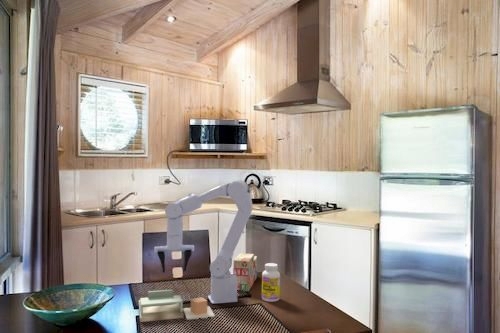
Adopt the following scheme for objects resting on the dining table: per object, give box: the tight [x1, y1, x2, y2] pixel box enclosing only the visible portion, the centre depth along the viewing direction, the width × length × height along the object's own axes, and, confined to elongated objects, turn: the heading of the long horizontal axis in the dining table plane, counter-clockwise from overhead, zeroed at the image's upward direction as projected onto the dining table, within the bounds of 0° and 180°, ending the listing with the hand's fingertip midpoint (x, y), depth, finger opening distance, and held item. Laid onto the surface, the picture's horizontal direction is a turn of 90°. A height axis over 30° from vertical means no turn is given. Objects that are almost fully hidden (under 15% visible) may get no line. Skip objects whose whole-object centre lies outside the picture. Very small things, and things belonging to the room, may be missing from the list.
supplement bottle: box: [261, 262, 281, 303], centre depth 145 cm, size 7×7×13 cm
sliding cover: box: [139, 289, 184, 316], centre depth 128 cm, size 13×6×6 cm, turn 108°
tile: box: [183, 305, 216, 321], centre depth 129 cm, size 9×9×1 cm
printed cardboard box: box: [232, 252, 258, 292], centre depth 164 cm, size 21×6×12 cm, turn 169°
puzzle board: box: [138, 299, 185, 323], centre depth 132 cm, size 13×17×1 cm
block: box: [190, 296, 208, 315], centre depth 129 cm, size 4×4×4 cm
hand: (174, 271), depth 146 cm, fingers open, 7 cm apart
